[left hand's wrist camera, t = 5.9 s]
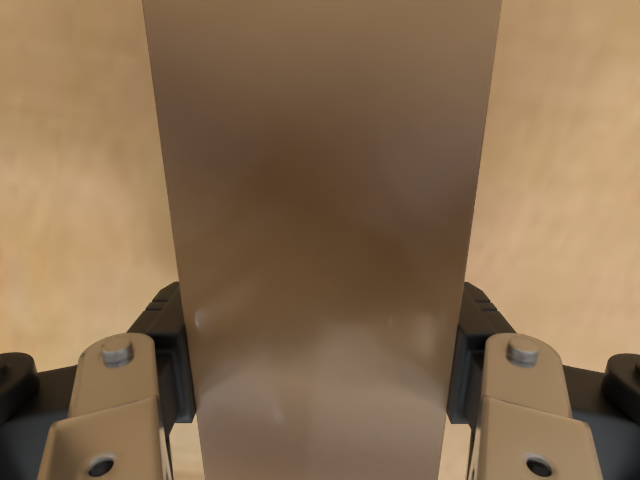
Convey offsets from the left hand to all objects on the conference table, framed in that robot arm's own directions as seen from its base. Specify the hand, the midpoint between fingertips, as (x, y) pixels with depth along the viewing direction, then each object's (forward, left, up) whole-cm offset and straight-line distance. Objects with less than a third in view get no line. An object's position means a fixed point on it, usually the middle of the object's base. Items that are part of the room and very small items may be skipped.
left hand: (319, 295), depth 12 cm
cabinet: (+1, +5, -6) cm, 8 cm away
